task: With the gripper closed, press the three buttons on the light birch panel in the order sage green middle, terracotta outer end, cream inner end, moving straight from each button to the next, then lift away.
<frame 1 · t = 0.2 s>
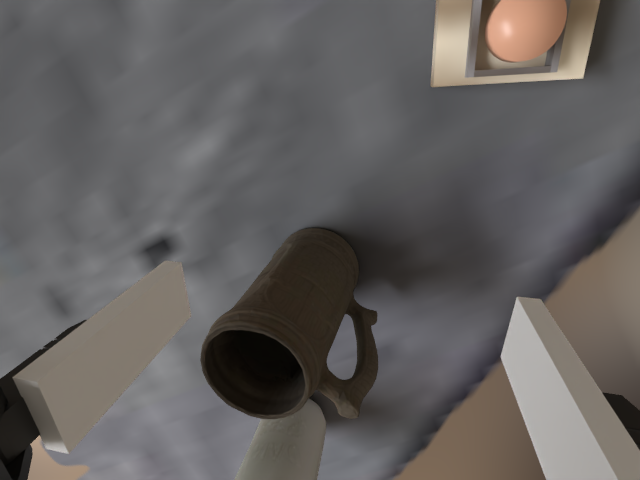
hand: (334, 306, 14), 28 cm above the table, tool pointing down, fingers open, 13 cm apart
beer stein: (330, 268, 45), on the table
glass bottle: (300, 404, 56), on the table
terracotta button: (523, 24, 27), point 6 cm above the table, slide at 0.0 cm
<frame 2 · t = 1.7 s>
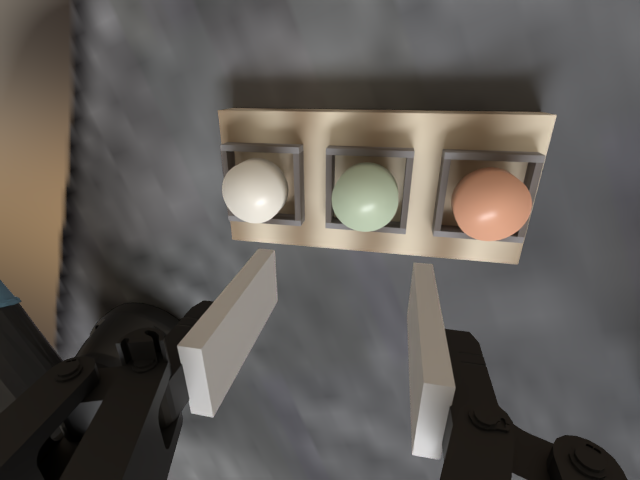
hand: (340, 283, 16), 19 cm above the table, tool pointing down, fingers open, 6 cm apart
cream button: (255, 190, 29), point 6 cm above the table, slide at 0.0 cm
sage button: (365, 197, 27), point 6 cm above the table, slide at 0.0 cm
terracotta button: (489, 204, 26), point 6 cm above the table, slide at 0.0 cm
button panel: (370, 178, 32), on the table
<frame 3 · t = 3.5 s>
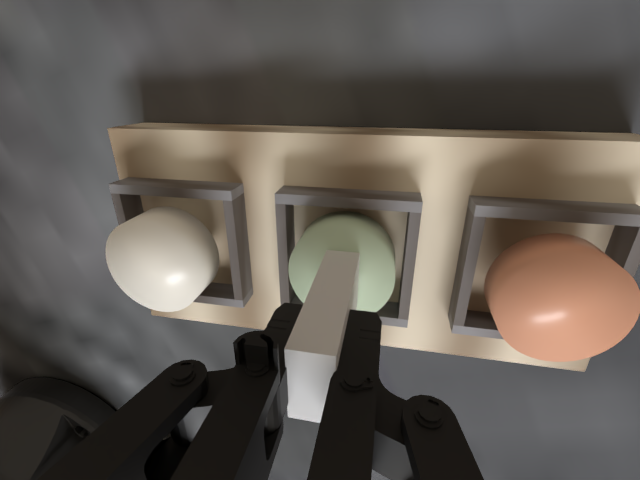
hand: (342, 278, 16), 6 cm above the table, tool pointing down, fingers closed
cream button: (164, 259, 18), point 6 cm above the table, slide at 0.0 cm
sage button: (343, 265, 17), point 5 cm above the table, slide at 1.1 cm, touching gripper
terracotta button: (554, 297, 15), point 6 cm above the table, slide at 0.0 cm
button panel: (353, 229, 21), on the table
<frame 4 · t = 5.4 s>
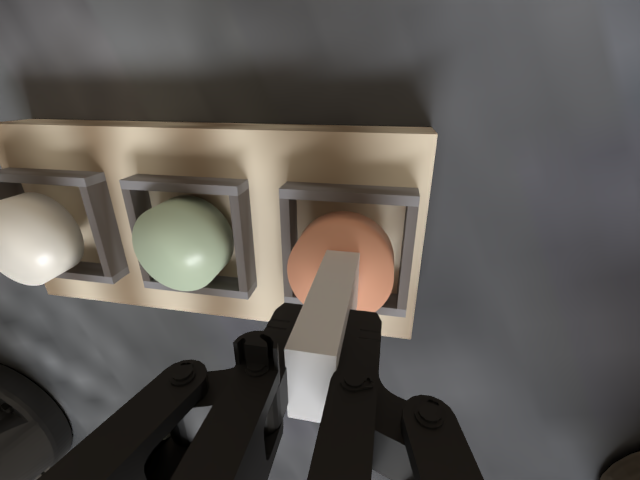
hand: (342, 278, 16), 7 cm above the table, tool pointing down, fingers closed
cream button: (31, 239, 20), point 6 cm above the table, slide at 0.0 cm
sage button: (184, 243, 20), point 5 cm above the table, slide at 1.1 cm
terracotta button: (341, 266, 17), point 6 cm above the table, slide at 0.2 cm, touching gripper
button panel: (221, 215, 24), on the table
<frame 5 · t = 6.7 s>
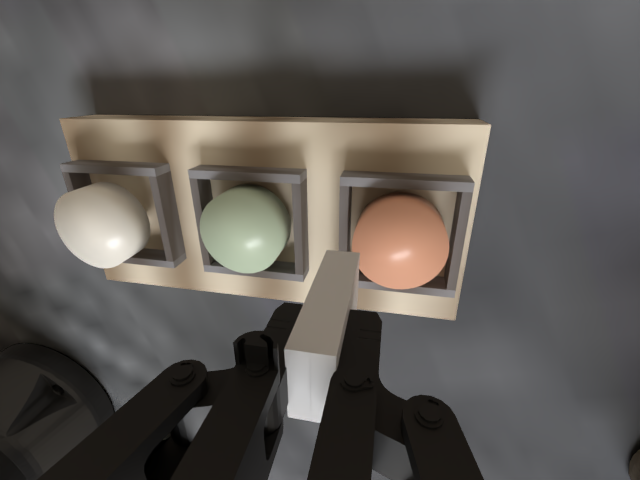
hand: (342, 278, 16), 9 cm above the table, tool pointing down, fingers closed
cream button: (103, 225, 22), point 6 cm above the table, slide at 0.0 cm
sage button: (246, 228, 21), point 5 cm above the table, slide at 1.1 cm
terracotta button: (399, 240, 19), point 5 cm above the table, slide at 1.1 cm
button panel: (272, 204, 25), on the table
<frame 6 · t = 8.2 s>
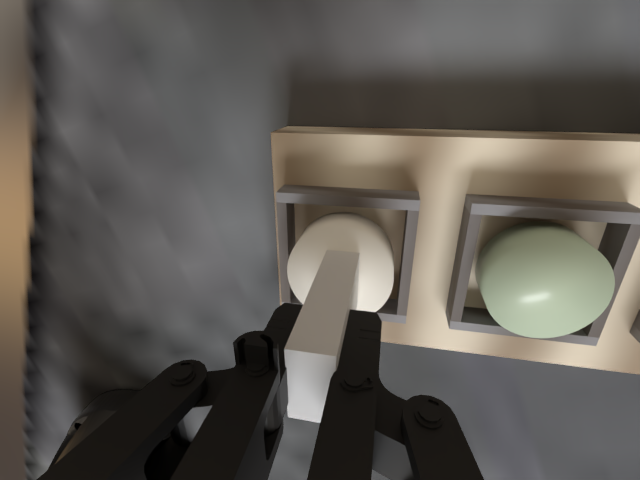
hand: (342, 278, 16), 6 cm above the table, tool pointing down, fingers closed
cream button: (341, 266, 17), point 5 cm above the table, slide at 0.7 cm, touching gripper
sage button: (538, 279, 16), point 5 cm above the table, slide at 1.1 cm
button panel: (508, 239, 20), on the table
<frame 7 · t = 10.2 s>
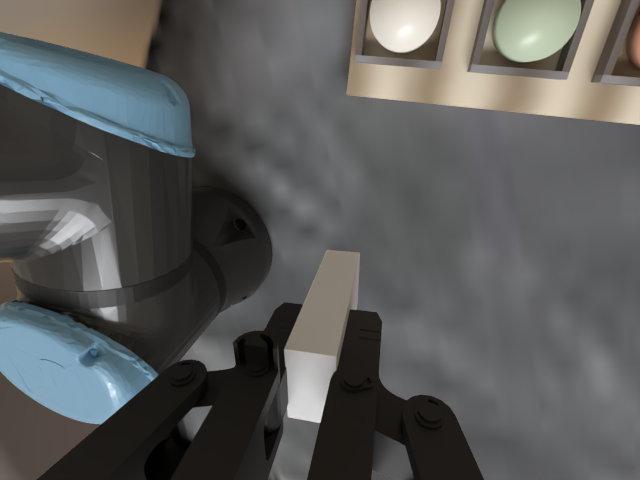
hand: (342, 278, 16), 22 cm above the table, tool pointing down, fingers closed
cream button: (404, 14, 26), point 5 cm above the table, slide at 1.2 cm
sage button: (533, 22, 25), point 5 cm above the table, slide at 1.1 cm
button panel: (515, 31, 29), on the table
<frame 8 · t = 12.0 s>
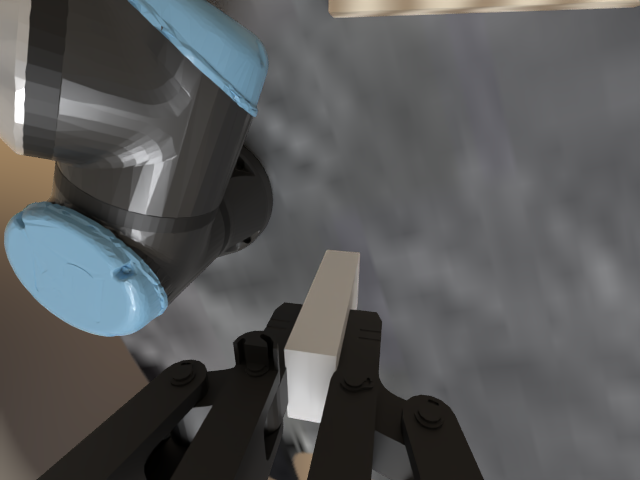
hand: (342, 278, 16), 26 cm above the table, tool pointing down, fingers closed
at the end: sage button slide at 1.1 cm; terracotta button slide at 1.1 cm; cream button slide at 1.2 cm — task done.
